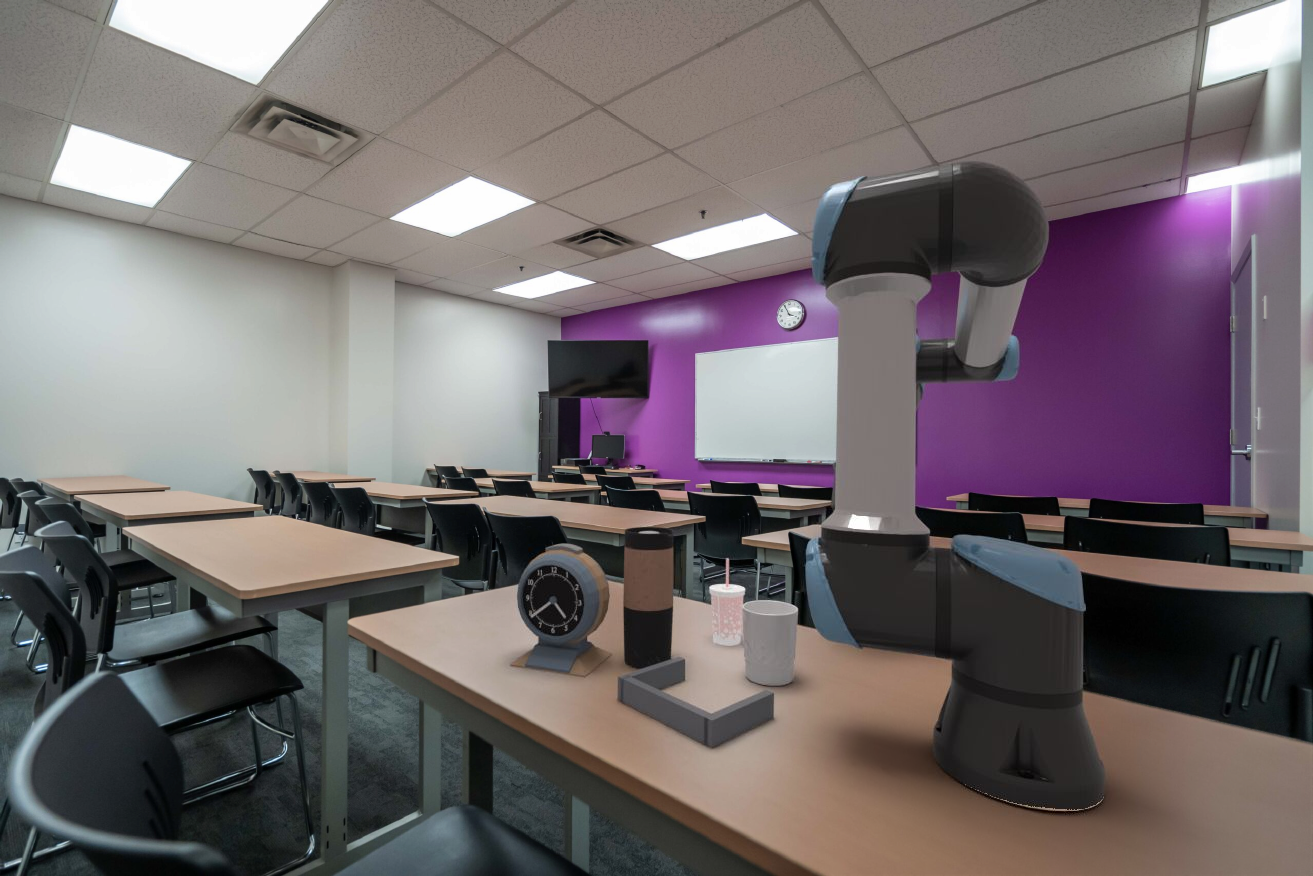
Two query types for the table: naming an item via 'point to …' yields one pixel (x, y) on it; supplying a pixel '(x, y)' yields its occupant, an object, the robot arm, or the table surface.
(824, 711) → the table surface
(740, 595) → the beverage cup
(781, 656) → the white cup
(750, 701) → the corral
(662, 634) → the travel mug
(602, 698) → the table surface
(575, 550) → the alarm clock
